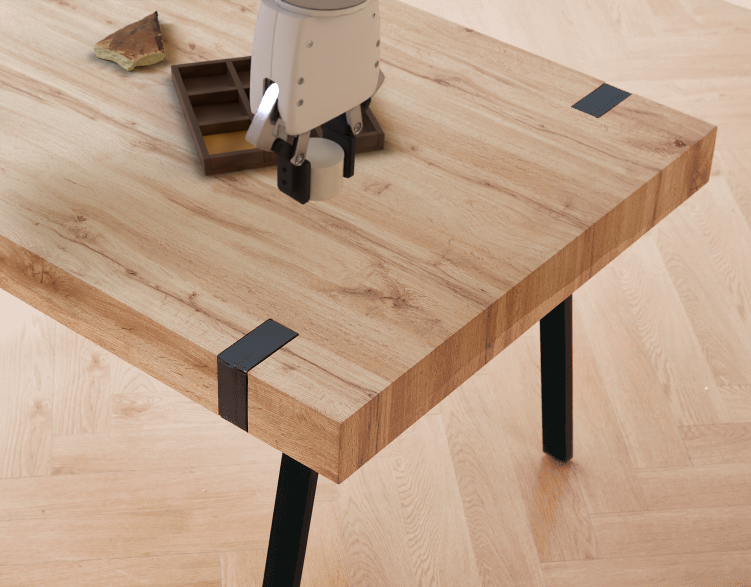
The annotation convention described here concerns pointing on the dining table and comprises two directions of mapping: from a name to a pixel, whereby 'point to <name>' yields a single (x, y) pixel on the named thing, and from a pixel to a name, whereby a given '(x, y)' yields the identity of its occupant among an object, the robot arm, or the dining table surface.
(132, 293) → the dining table surface
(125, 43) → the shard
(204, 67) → the board
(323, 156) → the ivory stone
